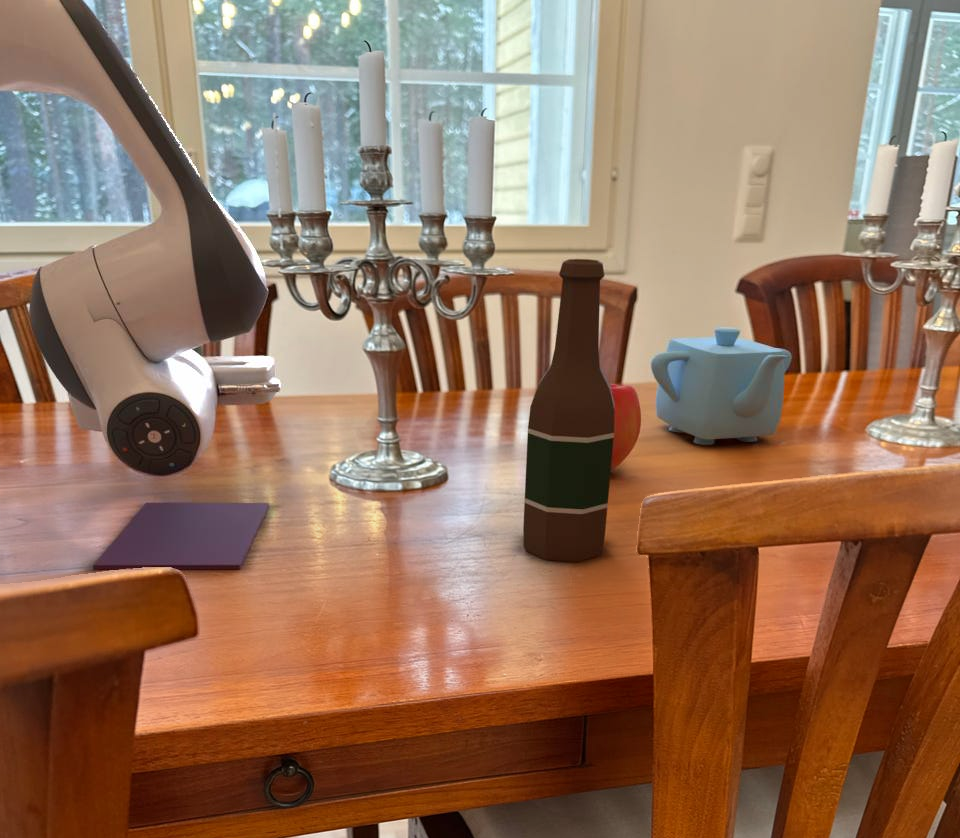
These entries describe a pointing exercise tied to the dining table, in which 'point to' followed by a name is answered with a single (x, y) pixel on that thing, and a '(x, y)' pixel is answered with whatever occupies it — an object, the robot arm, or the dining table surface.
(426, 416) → the dining table surface
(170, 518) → the placemat
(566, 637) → the dining table surface
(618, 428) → the apple
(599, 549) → the beer bottle
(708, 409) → the teapot
